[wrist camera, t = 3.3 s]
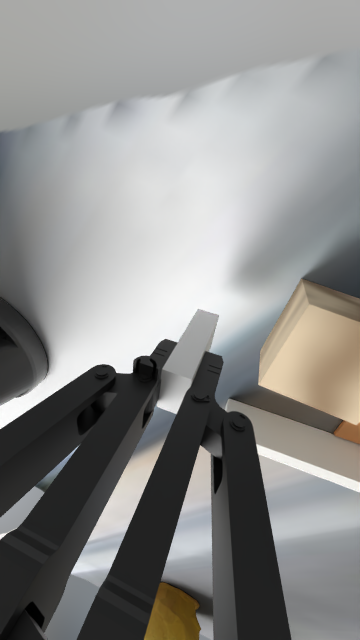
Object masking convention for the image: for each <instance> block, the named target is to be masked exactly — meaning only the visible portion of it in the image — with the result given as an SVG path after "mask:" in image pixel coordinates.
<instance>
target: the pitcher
mask: <svg viewBox="0 0 360 640" xmlns="http://www.w3.org/2000/svg"><path fill="white" fill-rule="evenodd" d="M199 606H200V605H199V604H198V602H197V601H196V600H195V599H193V598H192V597H190V596H189V595H187V594H186V593H184V592H183V591H182V590H180V589H178V588H174V587H172V586H170V585H169V584H166V583H165V582H162V583H160V584H159V588H158V591H157V595H156V598H155V602H154V605H153V609H152V613H151V616H150V620H149V624H148V627H147V631H146V634H145V637H144V640H199V631H200V630H201V628H200V625H199V623H198V620H197V617H196V609H198V608H199Z"/></svg>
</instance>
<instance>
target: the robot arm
mask: <svg viewBox="0 0 360 640" xmlns="http://www.w3.org/2000/svg"><path fill="white" fill-rule="evenodd" d="M218 317H219V315H217V314H213V313H210V312H206V311H203V310H199V309H198V310H197V312H196V313H195V315H194V317H193V318H192V320H191V322H190V323H189V325H188V327H187V328H186V330H185V332H184V333H183V335H182V337H181V338H180V340H179V342H178V343H177V342H174V341H171V340H168V339H165V340H163V341H161V342H160V343H159V344H158V346H157V347H156V349H155V350H154V351H153V353H152V354H151V355H150V356H140V357H137V358H136V359H135V360H134V362H133V373H131V374H122V373H116V371H115V369H114V368H113V367H112V366H110V365H105V364H102V365H97V366H95V367H93V368H91V369H90V370H88V371H87V372H85V373H84V374H82V375H81V376H79V377H78V378H76V379H75V380H73V381H72V382H70V383H69V384H67V385H66V386H64V387H63V388H61V389H60V390H58V391H57V392H55V393H54V394H52V395H51V396H49V397H48V398H46V399H45V400H43V401H42V402H40V403H39V404H37V405H36V406H34V407H33V408H31V409H30V410H28V411H27V412H25V413H24V414H22V415H21V416H19V417H18V418H16V419H15V420H13V421H12V422H10V423H9V424H7V425H6V426H4V427H3V428H2V429H0V517H1V516H2V515H4V513H6V511H8V510H9V509H10V508H11V507H12V506H13V505H14V504H15V503H16V502H18V501H19V500H20V499H21V498H22V497H23V496H24V495H25V494H26V493H27V492H28V491H30V490H31V489H32V488H33V487H34V486H35V485H36V484H37V483H38V482H39V481H41V480H42V479H43V478H44V477H45V476H46V475H47V474H48V473H49V472H50V471H51V470H53V469H54V468H55V467H56V466H57V465H58V464H59V463H60V462H61V461H62V460H63V459H65V458H66V457H67V456H68V455H69V454H70V453H71V452H72V451H73V450H74V449H75V448H76V447H78V446H79V447H78V448H77V449H76V451H75V452H74V454H73V455H72V456H71V458H70V459H69V460H68V462H67V463H66V464H65V466H64V467H63V469H62V470H61V471H60V473H59V474H58V475H57V477H56V478H55V479H54V481H53V482H52V484H51V485H50V486H49V488H48V489H47V490H46V492H45V493H44V495H43V496H42V497H41V499H40V500H39V501H38V503H37V504H36V505H35V507H34V508H33V510H32V511H31V512H30V513H29V515H28V516H27V518H26V519H25V520H24V522H23V523H22V524H21V525H20V526H19V527H18V528H17V529H15V530H13V531H11V532H9V533H7V534H6V535H5V536H4V537H3V538H2V539H1V540H0V640H48V639H47V638H46V636H45V634H44V632H45V630H46V628H47V626H48V624H49V622H50V620H51V618H52V616H53V614H54V612H55V610H56V608H57V606H58V604H59V602H60V600H61V598H62V595H63V593H64V590H65V587H66V583H67V580H68V578H69V576H70V574H71V571H72V569H73V568H74V566H75V564H76V562H77V560H78V558H79V556H80V554H81V552H82V550H83V548H84V546H85V544H86V543H87V541H88V539H89V537H90V535H91V533H92V531H93V529H94V527H95V525H96V523H97V521H98V519H99V517H100V516H101V514H102V512H103V510H104V508H105V506H106V504H107V502H108V500H109V498H110V496H111V494H112V492H113V491H114V489H115V487H116V485H117V483H118V481H119V479H120V477H121V475H122V473H123V471H124V469H125V467H126V465H127V464H128V462H129V460H130V458H131V456H132V454H133V452H134V450H135V448H136V446H137V444H138V442H139V440H140V439H141V437H142V435H143V433H144V431H145V429H146V427H147V425H148V423H149V421H150V419H151V417H152V415H153V412H154V407H155V405H156V403H157V407H159V408H162V409H164V410H167V411H170V412H172V413H175V414H177V415H176V417H175V419H174V422H173V424H172V426H171V429H170V431H169V433H168V436H167V438H166V440H165V443H164V445H163V447H162V450H161V452H160V454H159V457H158V459H157V461H156V464H155V466H154V468H153V471H152V473H151V475H150V478H149V480H148V482H147V485H146V487H145V489H144V492H143V494H142V496H141V499H140V501H139V504H138V506H137V508H136V511H135V513H134V515H133V518H132V520H131V522H130V525H129V527H128V529H127V532H126V534H125V536H124V539H123V541H122V543H121V546H120V548H119V550H118V553H117V555H116V557H115V560H114V562H113V564H112V567H111V569H110V571H109V573H108V575H107V577H106V579H105V581H104V582H103V584H102V585H101V587H100V589H99V591H98V593H97V595H96V597H95V599H94V602H93V604H92V606H91V608H90V610H89V612H88V615H87V617H86V619H85V622H84V624H83V626H82V629H81V631H80V633H79V635H78V638H77V640H144V637H145V634H146V631H147V627H148V624H149V620H150V616H151V613H152V609H153V605H154V602H155V598H156V595H157V591H158V588H159V584H160V581H161V578H162V574H163V571H164V567H165V564H166V560H167V557H168V553H169V550H170V546H171V543H172V540H173V536H174V533H175V529H176V526H177V522H178V519H179V515H180V512H181V509H182V505H183V502H184V498H185V495H186V491H187V488H188V484H189V481H190V478H191V474H192V471H193V467H194V464H195V460H196V457H197V453H198V450H199V447H200V445H201V446H202V447H204V448H205V449H206V450H207V451H208V452H210V453H211V499H212V565H213V631H214V640H291V635H290V629H289V624H288V618H287V612H286V607H285V601H284V596H283V590H282V585H281V579H280V574H279V568H278V562H277V557H276V551H275V546H274V540H273V535H272V529H271V523H270V518H269V512H268V507H267V501H266V496H265V490H264V484H263V479H262V473H261V468H260V462H259V457H258V451H257V446H256V440H255V434H254V429H253V425H252V422H251V420H250V419H249V418H248V417H247V416H246V415H244V414H243V413H240V412H237V411H231V412H226V411H225V410H224V409H222V408H221V407H220V406H219V405H218V404H217V402H216V400H215V391H216V387H217V384H218V380H219V377H220V373H221V370H222V366H223V359H222V356H219V355H216V354H213V353H210V352H209V350H210V347H211V344H212V340H213V336H214V332H215V329H216V325H217V321H218ZM47 369H48V364H47V357H46V354H45V351H44V348H43V346H42V344H41V342H40V340H39V338H38V336H37V335H36V333H35V332H34V330H33V329H32V328H31V326H30V325H29V324H28V323H27V321H26V320H25V319H24V318H23V317H22V316H21V315H20V314H19V313H18V312H17V311H16V310H15V309H14V308H12V307H11V306H10V305H9V304H7V303H6V302H5V301H3V300H2V299H0V406H1V405H2V404H4V403H6V402H8V401H10V400H11V399H13V398H17V397H21V396H23V395H25V394H27V393H29V392H30V391H31V390H33V389H34V388H35V387H36V386H37V385H38V384H39V383H41V382H42V381H43V380H44V378H45V377H46V374H47ZM157 401H158V402H157Z"/></svg>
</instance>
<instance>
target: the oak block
mask: <svg viewBox="0 0 360 640" xmlns="http://www.w3.org/2000/svg"><path fill="white" fill-rule="evenodd" d="M258 385H260V386H262V387H265V388H267V389H270V390H272V391H275V392H277V393H279V394H282V395H284V396H287V397H289V398H292V399H294V400H296V401H299V402H301V403H304V404H306V405H308V406H311V407H313V408H316V409H318V410H321V411H323V412H325V413H328V414H330V415H333V416H335V417H338V418H340V419H342V420H345V421H347V422H350V423H352V424H354V425H357V424H358V423H359V422H360V299H359V298H356V297H353V296H350V295H347V294H345V293H342V292H339V291H336V290H333V289H330V288H327V287H324V286H322V285H319V284H316V283H313V282H310V281H307V280H304V279H302V278H301V280H300V282H299V284H298V285H297V287H296V289H295V291H294V292H293V294H292V296H291V298H290V299H289V301H288V303H287V305H286V307H285V308H284V310H283V312H282V314H281V315H280V317H279V319H278V321H277V322H276V324H275V326H274V328H273V329H272V331H271V333H270V335H269V336H268V338H267V340H266V342H265V343H264V345H263V347H262V349H261V350H260V367H259V383H258Z"/></svg>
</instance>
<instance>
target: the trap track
mask: <svg viewBox="0 0 360 640" xmlns="http://www.w3.org/2000/svg"><path fill="white" fill-rule="evenodd" d="M225 411H226V412H231V411H237V412H240V413H243V414H244V415H246V416H247V417H248V418H249V419H250V420H251V422H252V425H253V429H254V434H255V440H256V446H257V451H258V454H259V455H262V456H265V457H267V458H270V459H273V460H275V461H278V462H281V463H283V464H286V465H289V466H291V467H294V468H296V469H299V470H302V471H304V472H307V473H310V474H312V475H315V476H318V477H320V478H323V479H326V480H328V481H331V482H334V483H336V484H339V485H341V486H344V487H347V488H349V489H352V490H355V491H357V492H360V444H358V443H355V442H352V441H349V440H346V439H343V438H340V437H337V436H335V435H334V434H331V433H328V432H326V431H323V430H320V429H317V428H314V427H311V426H308V425H305V424H302V423H299V422H296V421H293V420H291V419H288V418H285V417H282V416H279V415H276V414H273V413H270V412H267V411H264V410H261V409H259V408H256V407H253V406H250V405H247V404H244V403H241V402H238V401H235V400H232V399H228V402H227V404H226V408H225Z"/></svg>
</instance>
